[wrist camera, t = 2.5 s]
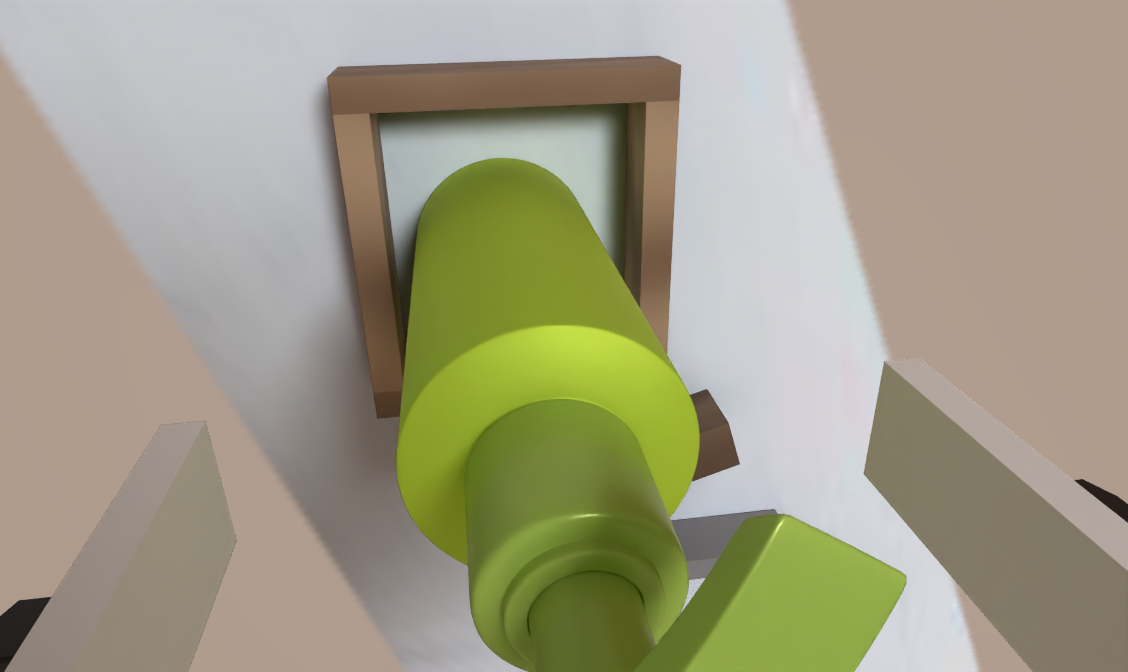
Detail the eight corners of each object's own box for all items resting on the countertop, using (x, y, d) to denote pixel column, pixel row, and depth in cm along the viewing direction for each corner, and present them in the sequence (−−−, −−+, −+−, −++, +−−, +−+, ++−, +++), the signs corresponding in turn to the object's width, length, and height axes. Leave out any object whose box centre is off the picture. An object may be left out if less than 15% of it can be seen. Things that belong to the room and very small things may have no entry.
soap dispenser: (636, 190, 26) (1059, 671, 8) (528, 346, 28) (680, 1005, 10) (490, 94, 24) (630, 462, 6) (385, 270, 26) (262, 931, 8)
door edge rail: (471, 475, 30) (473, 515, 28) (707, 389, 30) (728, 423, 28) (489, 511, 31) (492, 553, 29) (718, 428, 31) (740, 464, 29)
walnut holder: (338, 66, 23) (326, 77, 21) (659, 56, 24) (681, 65, 22) (382, 382, 28) (377, 418, 26) (647, 359, 29) (665, 392, 27)
